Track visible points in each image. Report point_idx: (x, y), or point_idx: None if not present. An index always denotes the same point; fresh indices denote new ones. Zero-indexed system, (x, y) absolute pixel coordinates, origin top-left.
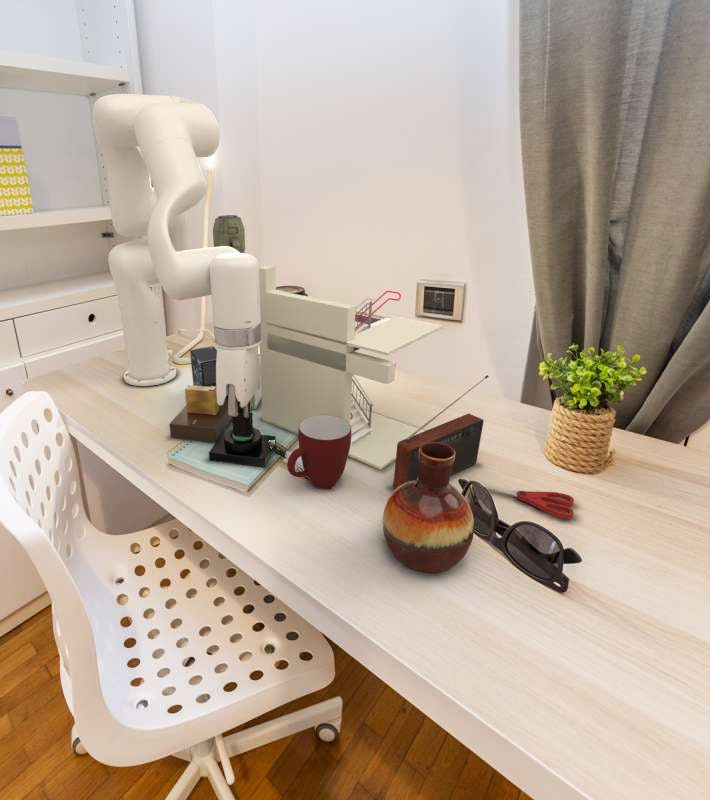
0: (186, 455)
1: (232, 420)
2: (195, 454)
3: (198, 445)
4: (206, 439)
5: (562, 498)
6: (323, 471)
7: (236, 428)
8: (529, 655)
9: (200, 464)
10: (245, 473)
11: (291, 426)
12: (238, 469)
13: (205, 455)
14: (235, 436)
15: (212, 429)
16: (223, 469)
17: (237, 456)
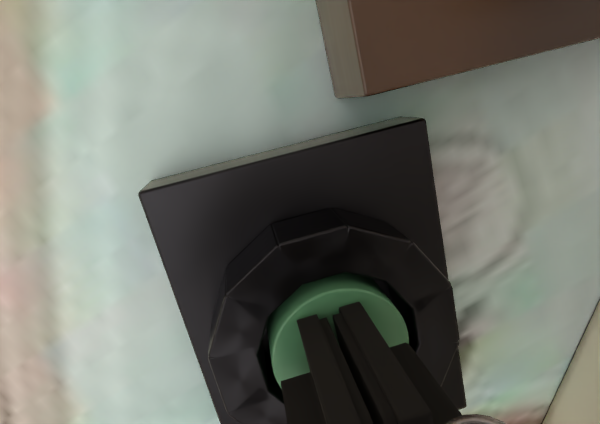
0: (121, 7)
1: (321, 400)
2: (163, 58)
3: (264, 9)
4: (326, 34)
5: None
6: None
7: (285, 410)
8: None
9: (86, 156)
10: (150, 400)
11: (588, 398)
12: (161, 356)
13: (186, 124)
14: (292, 333)
15: (359, 79)
16: (119, 296)
17: (197, 356)
